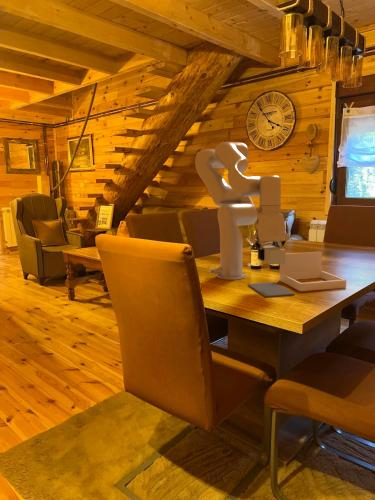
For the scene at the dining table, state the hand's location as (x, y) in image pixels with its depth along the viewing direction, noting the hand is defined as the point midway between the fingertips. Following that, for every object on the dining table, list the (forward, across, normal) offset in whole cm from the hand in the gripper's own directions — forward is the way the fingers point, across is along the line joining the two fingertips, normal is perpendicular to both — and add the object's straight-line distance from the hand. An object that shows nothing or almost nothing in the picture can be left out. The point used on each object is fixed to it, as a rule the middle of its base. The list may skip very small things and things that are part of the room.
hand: (269, 258), depth 138 cm
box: (+1, 0, -1) cm, 1 cm away
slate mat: (+12, 0, -1) cm, 12 cm away
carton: (+12, +19, +3) cm, 23 cm away
